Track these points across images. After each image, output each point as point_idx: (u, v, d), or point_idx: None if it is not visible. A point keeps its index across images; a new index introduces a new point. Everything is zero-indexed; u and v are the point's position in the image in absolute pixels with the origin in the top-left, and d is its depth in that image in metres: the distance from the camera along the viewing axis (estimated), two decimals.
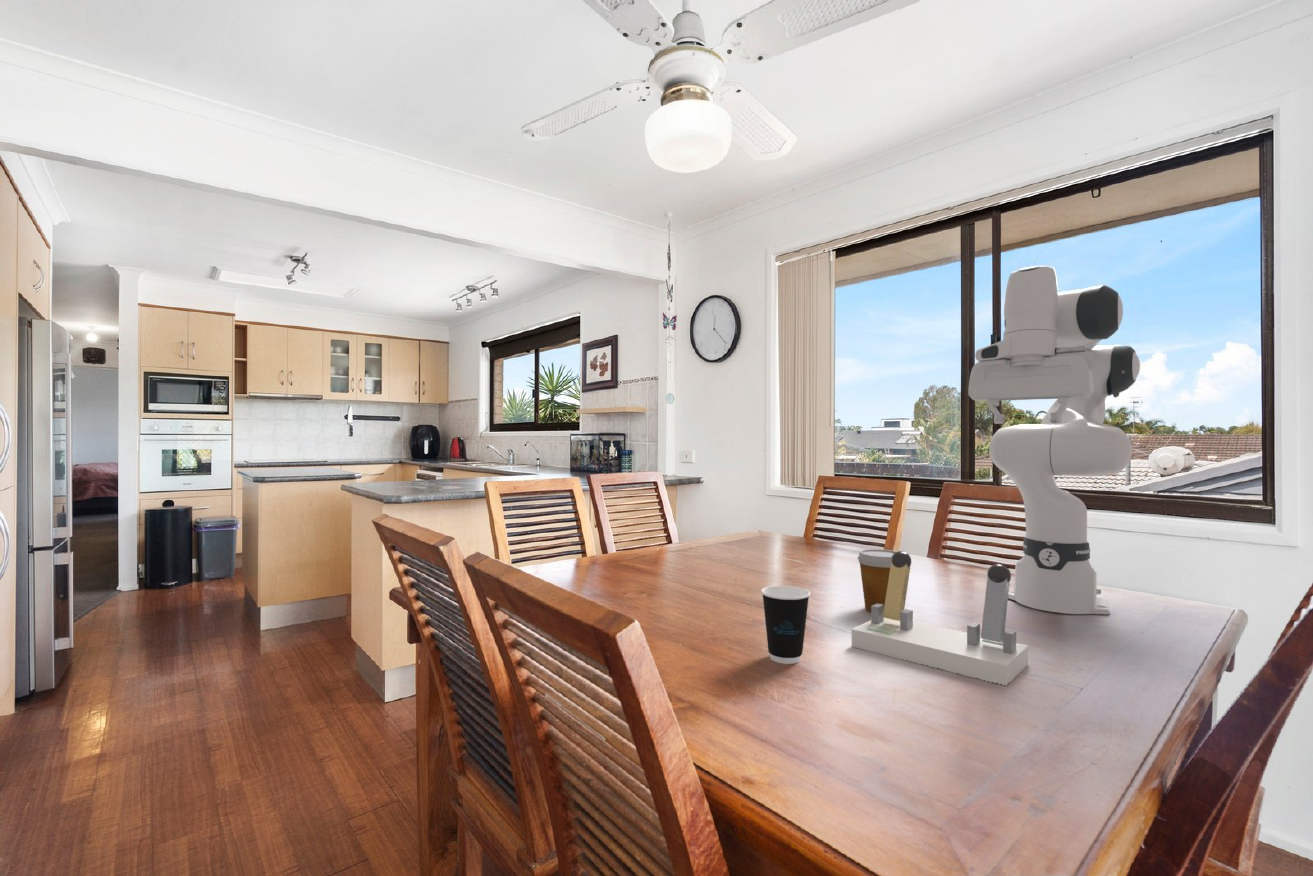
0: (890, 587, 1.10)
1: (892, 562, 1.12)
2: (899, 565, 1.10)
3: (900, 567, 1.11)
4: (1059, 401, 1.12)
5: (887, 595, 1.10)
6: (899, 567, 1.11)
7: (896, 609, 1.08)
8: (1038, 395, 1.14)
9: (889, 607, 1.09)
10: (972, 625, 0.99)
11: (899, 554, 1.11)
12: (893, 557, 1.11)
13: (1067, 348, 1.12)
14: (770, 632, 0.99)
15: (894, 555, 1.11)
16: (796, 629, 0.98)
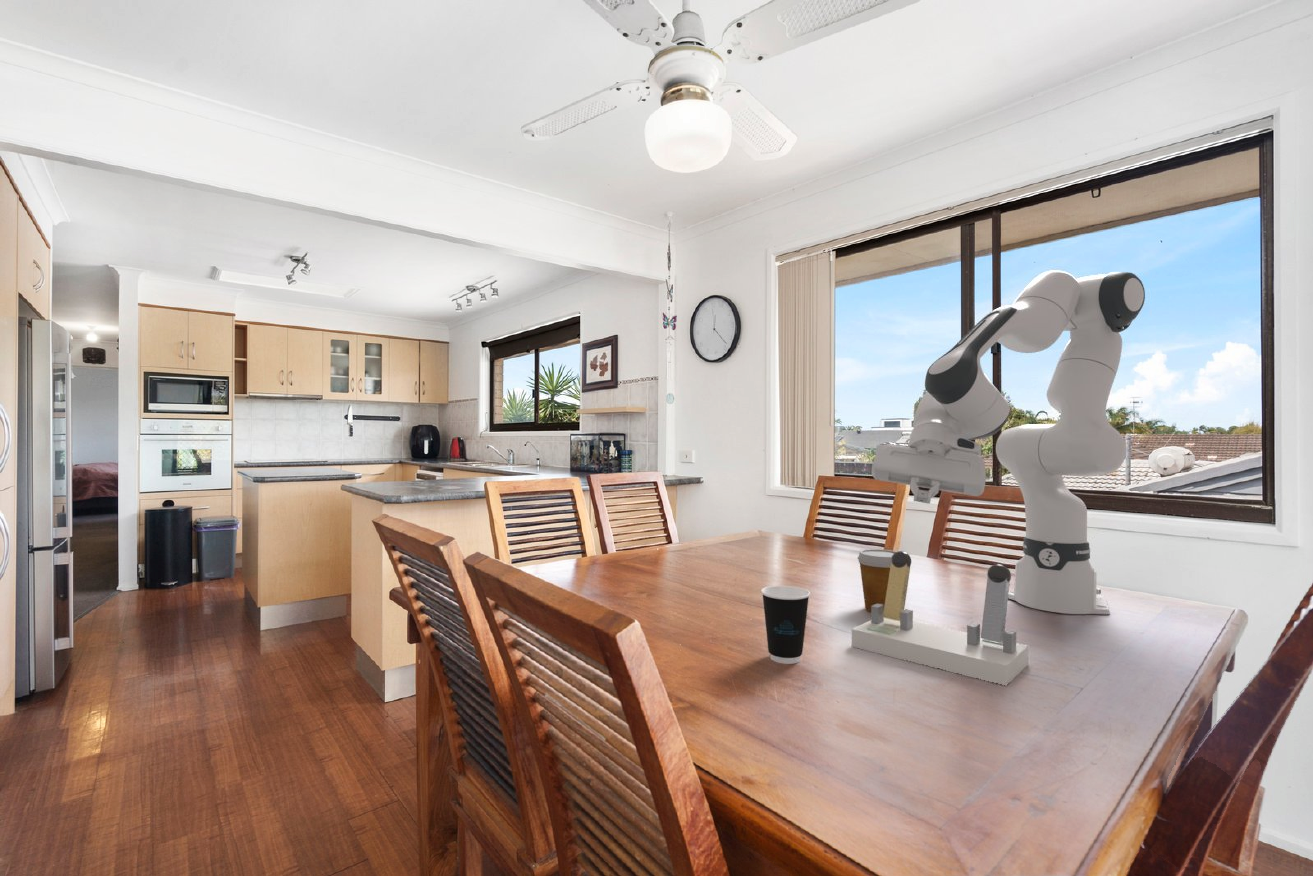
0: (890, 587, 1.10)
1: (892, 562, 1.12)
2: (899, 565, 1.10)
3: (900, 567, 1.11)
4: None
5: (887, 595, 1.10)
6: (899, 567, 1.11)
7: (896, 609, 1.08)
8: None
9: (889, 607, 1.09)
10: (972, 625, 0.99)
11: (899, 554, 1.11)
12: (893, 557, 1.11)
13: None
14: (770, 632, 0.99)
15: (894, 555, 1.11)
16: (796, 629, 0.98)
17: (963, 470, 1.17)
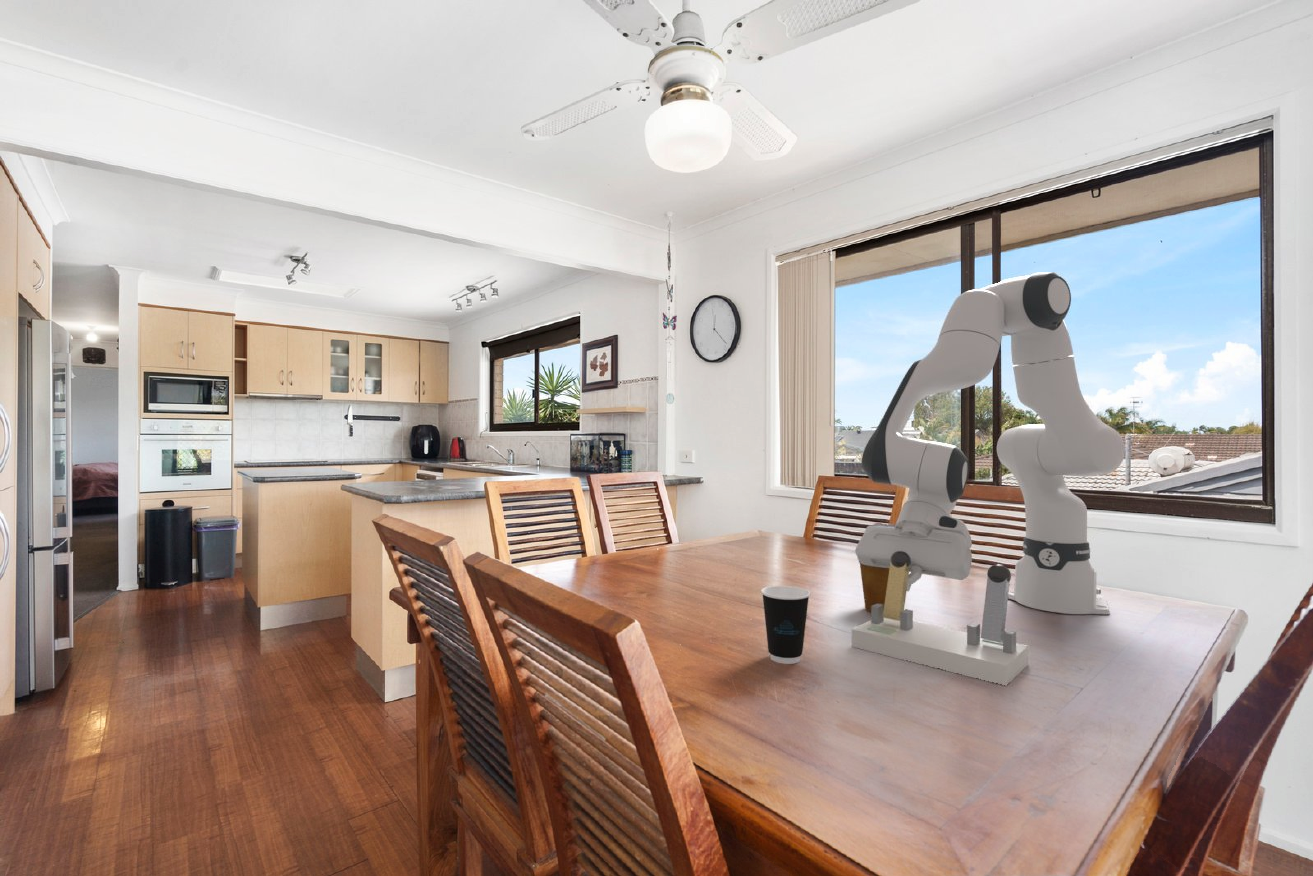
0: (890, 587, 1.10)
1: (891, 562, 1.11)
2: (898, 565, 1.10)
3: (899, 567, 1.10)
4: None
5: (887, 595, 1.10)
6: (898, 567, 1.10)
7: (896, 609, 1.08)
8: None
9: (889, 607, 1.09)
10: (972, 625, 0.99)
11: (898, 554, 1.11)
12: (892, 557, 1.11)
13: None
14: (770, 632, 0.99)
15: (893, 555, 1.11)
16: (796, 629, 0.98)
17: (943, 552, 1.10)
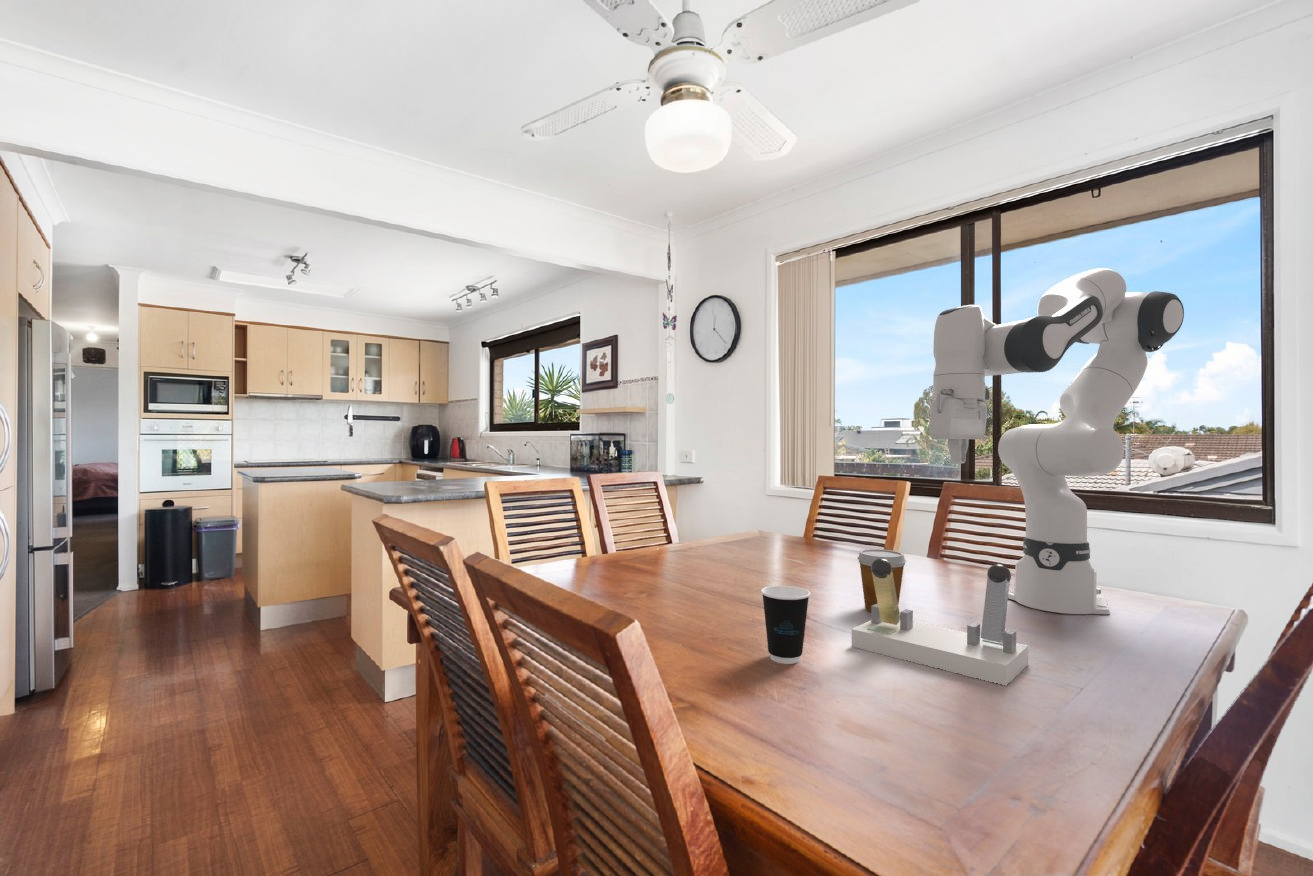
0: (879, 596, 1.07)
1: (873, 574, 1.06)
2: (881, 578, 1.05)
3: (882, 578, 1.05)
4: None
5: (878, 603, 1.08)
6: (881, 578, 1.05)
7: (891, 615, 1.07)
8: None
9: (884, 613, 1.08)
10: (972, 625, 0.99)
11: (877, 568, 1.05)
12: (872, 570, 1.05)
13: None
14: (770, 632, 0.99)
15: (873, 568, 1.05)
16: (796, 629, 0.98)
17: (979, 423, 1.21)
